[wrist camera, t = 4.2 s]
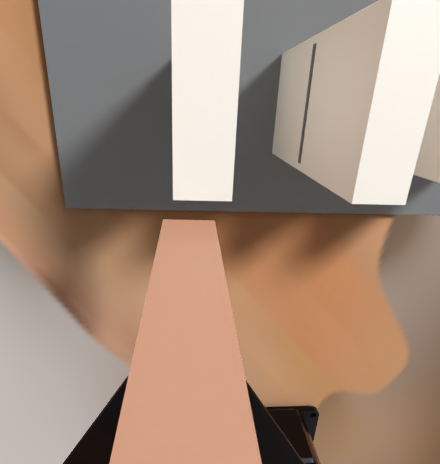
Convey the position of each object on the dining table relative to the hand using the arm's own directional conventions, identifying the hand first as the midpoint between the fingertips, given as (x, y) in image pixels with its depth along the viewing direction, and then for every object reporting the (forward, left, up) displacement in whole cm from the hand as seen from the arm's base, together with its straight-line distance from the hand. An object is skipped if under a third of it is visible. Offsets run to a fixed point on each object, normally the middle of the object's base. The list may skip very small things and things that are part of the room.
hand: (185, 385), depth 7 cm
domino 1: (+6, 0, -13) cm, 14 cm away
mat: (+6, -6, -14) cm, 16 cm away
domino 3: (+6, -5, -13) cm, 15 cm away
